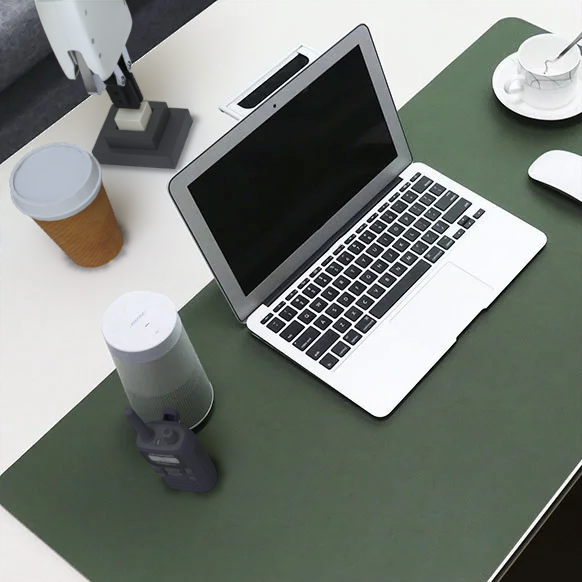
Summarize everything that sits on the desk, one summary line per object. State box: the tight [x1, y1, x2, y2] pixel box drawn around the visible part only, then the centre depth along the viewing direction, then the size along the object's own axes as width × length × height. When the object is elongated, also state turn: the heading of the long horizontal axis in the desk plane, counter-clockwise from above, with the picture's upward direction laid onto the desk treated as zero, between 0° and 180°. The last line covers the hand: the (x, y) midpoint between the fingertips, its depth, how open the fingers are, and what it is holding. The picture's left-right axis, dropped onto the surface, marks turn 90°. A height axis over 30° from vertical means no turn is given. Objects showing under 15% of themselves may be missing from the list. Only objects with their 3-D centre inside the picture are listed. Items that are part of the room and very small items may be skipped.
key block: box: [91, 100, 194, 170], centre depth 101 cm, size 10×8×4 cm
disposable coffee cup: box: [8, 141, 124, 269], centre depth 91 cm, size 10×10×12 cm
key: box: [115, 100, 152, 131], centre depth 99 cm, size 3×3×2 cm
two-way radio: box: [122, 406, 219, 493], centre depth 75 cm, size 6×4×15 cm
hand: (129, 103), depth 98 cm, fingers closed
